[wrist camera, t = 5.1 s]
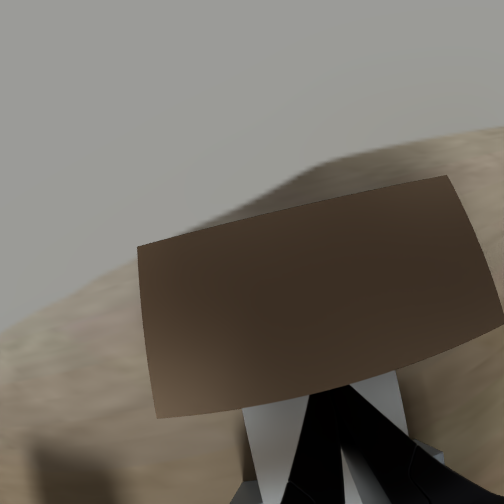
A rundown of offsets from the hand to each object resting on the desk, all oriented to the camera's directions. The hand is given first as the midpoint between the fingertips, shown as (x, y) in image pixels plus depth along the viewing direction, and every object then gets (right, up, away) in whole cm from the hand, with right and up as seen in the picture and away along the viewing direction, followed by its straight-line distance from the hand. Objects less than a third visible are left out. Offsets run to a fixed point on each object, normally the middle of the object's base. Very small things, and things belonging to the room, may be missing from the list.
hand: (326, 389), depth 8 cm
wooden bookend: (+2, -5, +7) cm, 9 cm away
